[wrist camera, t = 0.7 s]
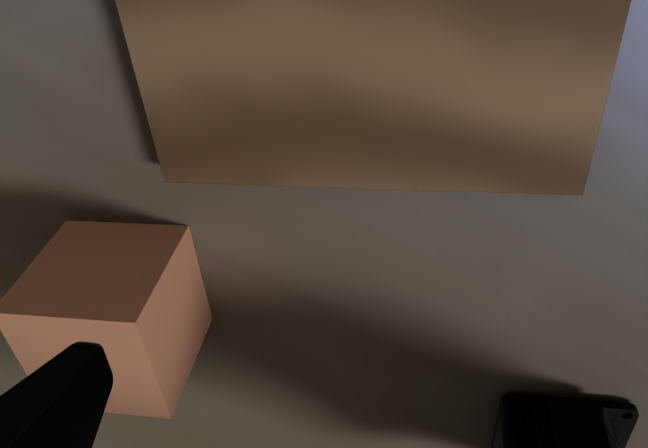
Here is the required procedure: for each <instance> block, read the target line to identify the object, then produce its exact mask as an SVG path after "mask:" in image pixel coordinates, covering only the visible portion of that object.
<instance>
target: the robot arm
mask: <svg viewBox="0 0 648 448" xmlns="http://www.w3.org/2000/svg"><path fill="white" fill-rule="evenodd" d="M112 386H113V373H112V370H111V367H110V365H109V362H108V359H107V357H106V354H105V351H104V349H103V347H102V346H101V345H100V344H98V343H92V342H83V341H79V342H75V343H73V344H71V345H70V346H68V347H67V348H66V349H64V350H63V351H62V352H60V353H59V354H57V355H56V356H55V357H53V358H52V359H51V360H49V361H48V362H46V363H45V364H44V365H42V366H41V367H40V368H38V369H37V370H35V371H34V372H33V373H31V374H30V375H29V376H27V377H26V378H24V379H23V380H22V381H20V382H19V383H18V384H16V385H15V386H14V387H12V388H11V389H9V390H8V391H7V392H5V393H4V394H3V395H1V396H0V448H92V446H93V443H94V440H95V437H96V434H97V431H98V428H99V425H100V422H101V419H102V416H103V413H104V411H105V408H106V405H107V402H108V399H109V396H110V393H111V390H112ZM638 417H639V414H638V411H637V408H636V406H635V405H633V404H631V403H623V402H611V401H599V400H587V399H574V398H562V397H550V396H538V395H526V394H514V393H508V394H505V395H503V396H502V397H501V400H500V405H499V410H498V415H497V420H496V425H495V430H494V435H493V441H492V446H491V448H625V446H626V444H627V442H628V440H629V437H630V435H631V433H632V431H633V428H634V426H635V424H636V422H637V419H638Z"/></svg>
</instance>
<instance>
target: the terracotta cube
mask: <svg viewBox="0 0 648 448" xmlns="http://www.w3.org/2000/svg"><path fill="white" fill-rule="evenodd" d="M212 319H213V318H212V314H211V311H210V307H209V303H208V299H207V295H206V291H205V287H204V283H203V280H202V276H201V272H200V268H199V264H198V260H197V256H196V252H195V249H194V245H193V241H192V237H191V233H190V229H189V226H186V225H162V224H138V223H114V222H91V221H67V220H66V222H65V223H64V224H63V225H62V226H61V228H60V229H59V230H58V231H57V232H56V234H55V235H54V236H53V237H52V238H51V240H50V241H49V242H48V243H47V244H46V246H45V247H44V248H43V249H42V251H41V252H40V253H39V254H38V255H37V257H36V258H35V259H34V260H33V261H32V263H31V264H30V265H29V266H28V267H27V269H26V270H25V271H24V272H23V274H22V275H21V276H20V277H19V278H18V280H17V281H16V282H15V283H14V284H13V286H12V287H11V288H10V289H9V290H8V292H7V293H6V294H5V295H4V296H3V298H2V299H1V300H0V330H1V332H2V334H3V335H4V337H5V339H6V340H7V342H8V344H9V346H10V347H11V349H12V351H13V352H14V354H15V356H16V357H17V359H18V361H19V363H20V364H21V366H22V368H23V369H24V371H25V373H26V374H27V376H29V375H30V374H31V373H33V372H34V371H35V370H37V369H38V368H40V367H41V366H42V365H44V364H45V363H46V362H48V361H49V360H51V359H52V358H53V357H55V356H56V355H57V354H59V353H60V352H62V351H63V350H64V349H66V348H67V347H68V346H70V345H71V344H73V343H75V342H79V341H83V342H92V343H98V344H100V345H101V346H102V347H103V349H104V351H105V354H106V357H107V359H108V362H109V365H110V367H111V370H112V373H113V386H112V390H111V393H110V396H109V399H108V402H107V405H106V408H105V411H104V412H107V413H117V414H128V415H138V416H148V417H158V418H168V419H172V417H173V414H174V412H175V409H176V407H177V404H178V402H179V399H180V397H181V395H182V392H183V390H184V387H185V385H186V382H187V380H188V377H189V375H190V373H191V370H192V368H193V365H194V363H195V360H196V358H197V355H198V353H199V350H200V348H201V346H202V343H203V341H204V338H205V336H206V333H207V331H208V328H209V326H210V324H211V321H212Z"/></svg>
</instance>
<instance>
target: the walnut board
mask: <svg viewBox="0 0 648 448" xmlns="http://www.w3.org/2000/svg"><path fill="white" fill-rule="evenodd" d="M115 2H116V6H117V10H118V13H119V17H120V21H121V24H122V28H123V32H124V35H125V39H126V43H127V46H128V50H129V53H130V57H131V61H132V64H133V68H134V72H135V75H136V79H137V83H138V86H139V90H140V94H141V97H142V101H143V105H144V108H145V112H146V116H147V119H148V123H149V127H150V130H151V134H152V138H153V141H154V145H155V148H156V152H157V156H158V159H159V163H160V167H161V170H162V174H163V178H164V181H165V183H196V184H230V185H263V186H296V187H329V188H362V189H395V190H428V191H461V192H494V193H527V194H560V195H583V192H584V188H585V184H586V180H587V176H588V172H589V168H590V164H591V160H592V156H593V152H594V148H595V144H596V140H597V135H598V131H599V127H600V123H601V119H602V115H603V111H604V107H605V103H606V99H607V95H608V91H609V87H610V83H611V79H612V75H613V71H614V67H615V63H616V59H617V55H618V51H619V47H620V43H621V39H622V35H623V31H624V27H625V23H626V19H627V15H628V11H629V7H630V3H631V0H115Z"/></svg>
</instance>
